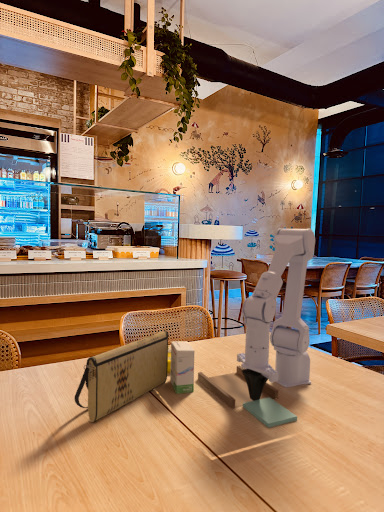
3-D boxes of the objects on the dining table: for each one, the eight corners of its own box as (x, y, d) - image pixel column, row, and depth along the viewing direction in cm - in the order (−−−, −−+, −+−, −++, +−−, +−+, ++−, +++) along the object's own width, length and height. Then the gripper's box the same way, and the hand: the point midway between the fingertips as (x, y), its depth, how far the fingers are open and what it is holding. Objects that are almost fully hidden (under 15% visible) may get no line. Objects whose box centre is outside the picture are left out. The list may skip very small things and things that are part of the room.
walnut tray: (239, 373, 108) (239, 365, 107) (278, 399, 91) (278, 390, 91) (197, 381, 101) (198, 372, 101) (231, 410, 85) (231, 400, 85)
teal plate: (269, 404, 90) (269, 397, 90) (296, 424, 81) (297, 416, 81) (242, 411, 86) (242, 403, 86) (268, 432, 78) (268, 423, 77)
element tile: (141, 355, 122) (142, 341, 122) (185, 358, 120) (185, 344, 120) (128, 372, 107) (128, 357, 107) (177, 376, 105) (177, 360, 105)
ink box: (194, 393, 94) (195, 350, 93) (175, 395, 92) (176, 351, 91) (186, 380, 102) (187, 340, 101) (169, 381, 101) (170, 340, 100)
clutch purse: (152, 376, 104) (153, 325, 103) (171, 382, 100) (172, 330, 99) (66, 419, 79) (66, 354, 78) (87, 430, 76) (88, 361, 75)
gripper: (227, 338, 92) (226, 389, 93) (261, 357, 79) (259, 416, 80) (250, 335, 95) (248, 385, 96) (286, 353, 82) (284, 410, 83)
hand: (254, 398), depth 89 cm, fingers closed
